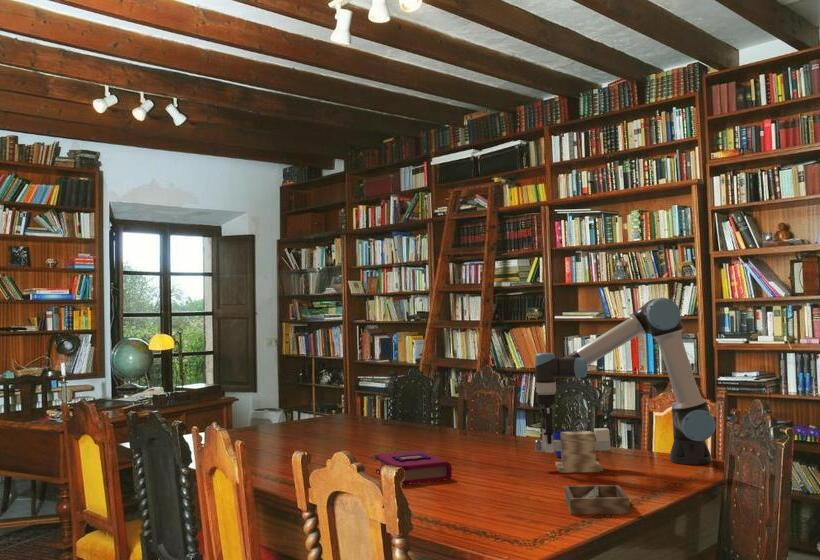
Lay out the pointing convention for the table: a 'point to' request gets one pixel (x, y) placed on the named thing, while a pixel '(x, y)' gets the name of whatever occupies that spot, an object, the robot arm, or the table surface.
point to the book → (417, 466)
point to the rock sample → (594, 493)
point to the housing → (578, 453)
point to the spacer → (601, 434)
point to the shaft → (557, 444)
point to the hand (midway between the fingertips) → (548, 449)
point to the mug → (557, 437)
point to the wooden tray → (597, 500)
